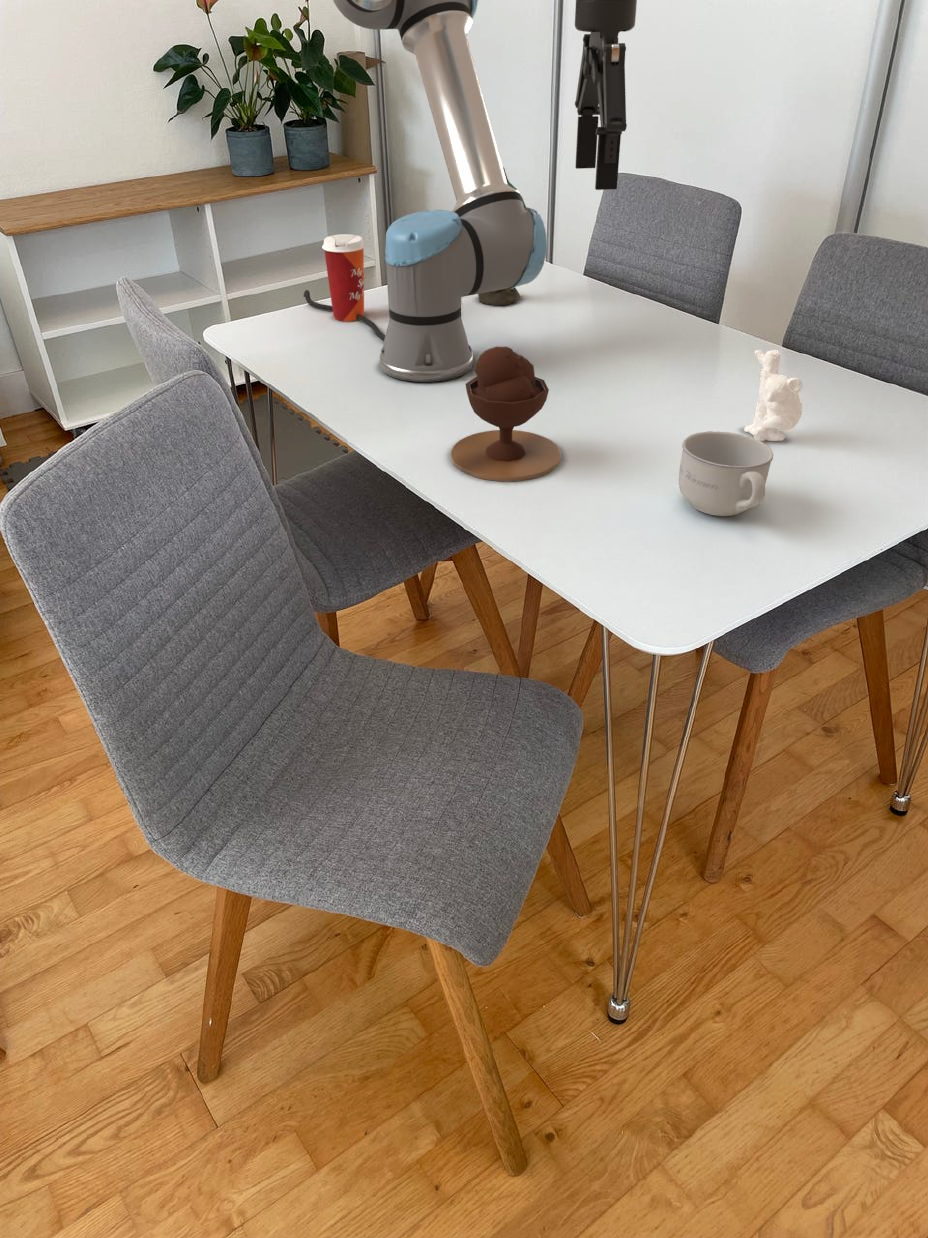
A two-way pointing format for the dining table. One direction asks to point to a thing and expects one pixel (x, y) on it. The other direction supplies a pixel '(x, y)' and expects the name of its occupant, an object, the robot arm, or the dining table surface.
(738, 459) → the teacup
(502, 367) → the ice cream bowl
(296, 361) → the dining table surface
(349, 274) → the paper cup
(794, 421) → the koala figurine
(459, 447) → the brown round coaster
